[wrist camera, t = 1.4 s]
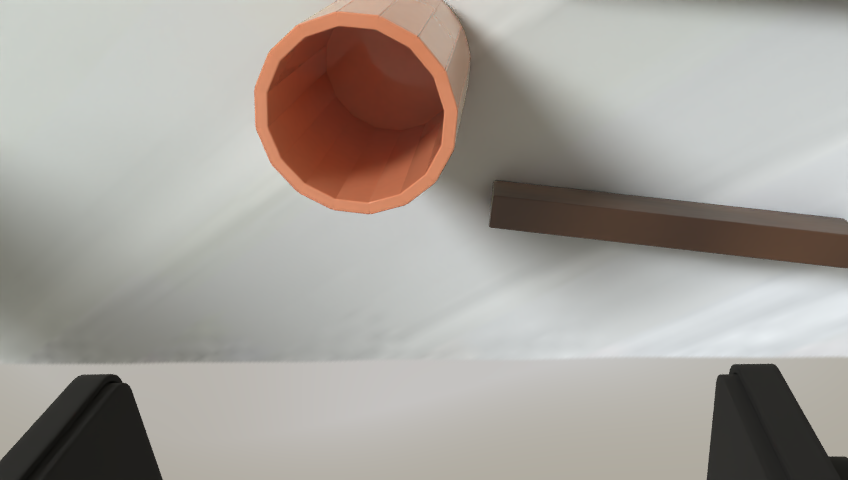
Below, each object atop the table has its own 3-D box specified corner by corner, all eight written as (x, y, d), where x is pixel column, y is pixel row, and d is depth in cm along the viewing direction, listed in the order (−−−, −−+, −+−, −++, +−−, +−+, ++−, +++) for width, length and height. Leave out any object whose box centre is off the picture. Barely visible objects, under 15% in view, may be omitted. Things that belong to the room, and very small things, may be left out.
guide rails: (489, 210, 34) (488, 228, 32) (528, -94, 28) (530, -94, 26) (833, 249, 33) (851, 269, 31) (949, -58, 27) (981, -55, 25)
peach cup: (319, 126, 33) (257, 201, 25) (320, -26, 30) (250, 3, 22) (462, 142, 32) (446, 223, 24) (478, -12, 29) (467, 23, 21)
